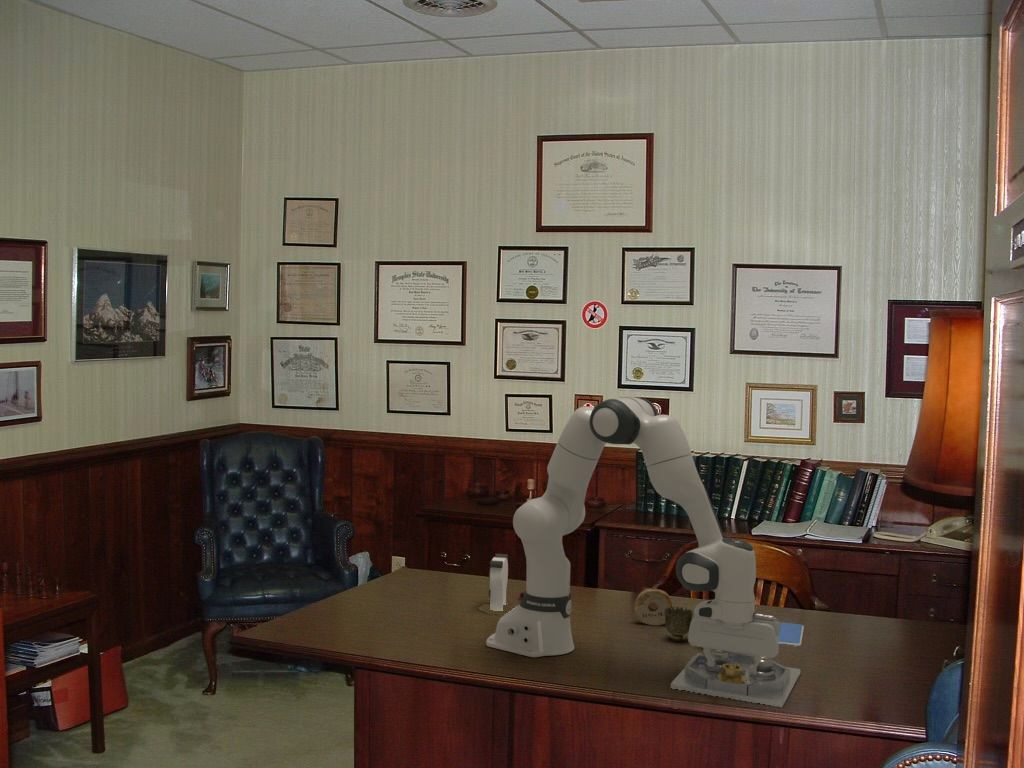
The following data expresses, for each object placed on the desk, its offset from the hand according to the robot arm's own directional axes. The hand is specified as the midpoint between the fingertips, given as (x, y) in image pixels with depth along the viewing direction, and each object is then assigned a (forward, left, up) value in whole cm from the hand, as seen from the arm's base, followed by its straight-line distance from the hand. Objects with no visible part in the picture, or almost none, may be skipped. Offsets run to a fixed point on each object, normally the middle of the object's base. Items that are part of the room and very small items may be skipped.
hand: (732, 670), depth 239 cm
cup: (-21, +31, -5) cm, 38 cm away
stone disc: (-31, +42, -5) cm, 52 cm away
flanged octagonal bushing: (0, 0, -3) cm, 3 cm away
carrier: (0, +6, -4) cm, 7 cm away
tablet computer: (+2, +50, -5) cm, 50 cm away
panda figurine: (-75, +35, -5) cm, 83 cm away
